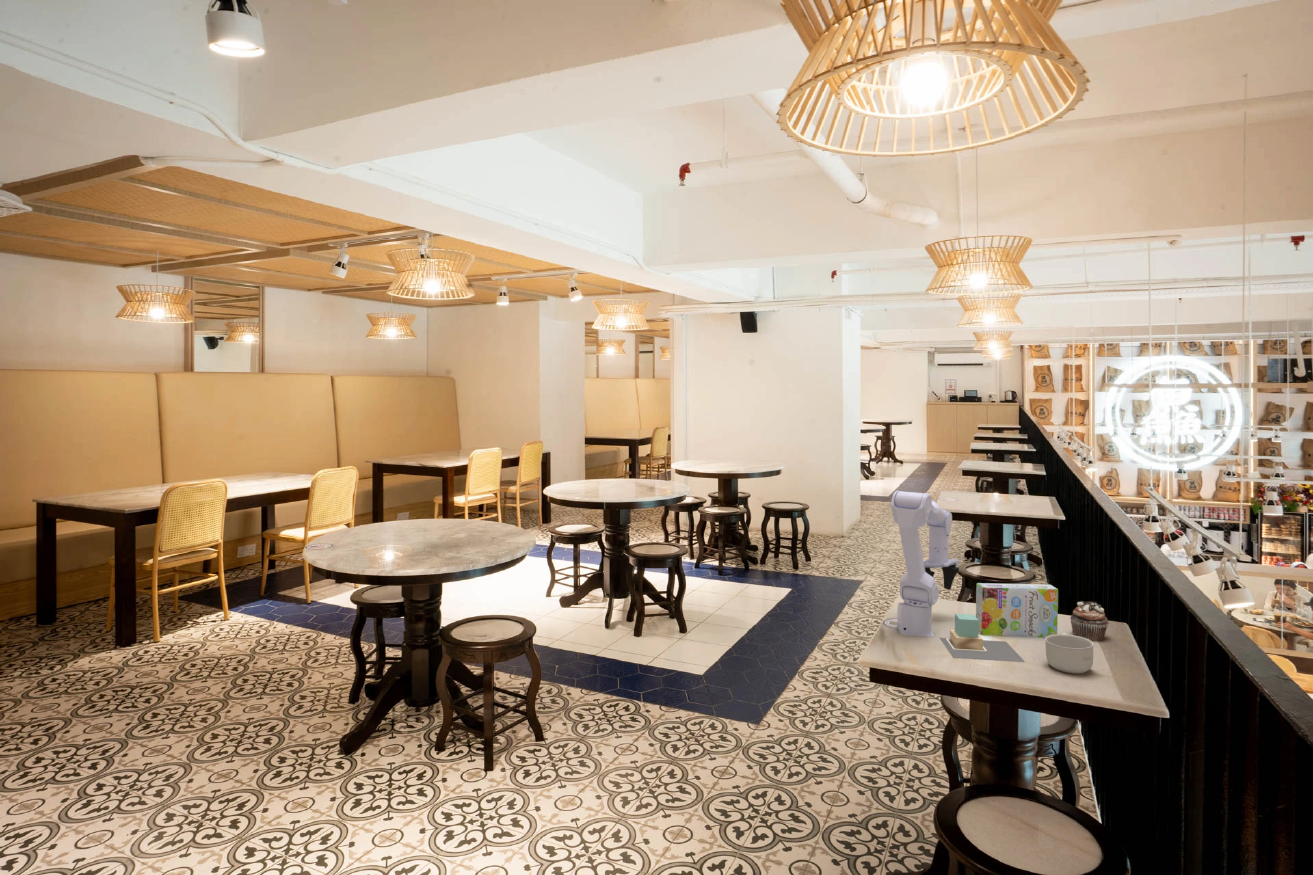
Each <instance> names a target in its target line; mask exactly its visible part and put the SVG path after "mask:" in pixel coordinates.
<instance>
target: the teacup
mask: <svg viewBox="0 0 1313 875" xmlns="http://www.w3.org/2000/svg"><path fill="white" fill-rule="evenodd" d="M1044 642H1045V657H1046V661H1047V663H1048V664H1049V665H1050V666H1051V667H1052V668H1054V669H1055V670H1057V671H1060V672H1062V673H1067V674H1075V675H1081V674H1085V673H1086V672H1087V671H1089V670H1091V668H1092V667H1093V665H1094V646H1095V644H1094V641H1091V640H1089V639H1086V638H1083V637H1079V636H1074V635H1073V634H1068V633H1066V632H1061V633H1059V634H1058V633H1057V634H1056V635H1050V636H1047V637H1044Z"/></svg>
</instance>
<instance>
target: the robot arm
mask: <svg viewBox="0 0 1313 875" xmlns="http://www.w3.org/2000/svg"><path fill="white" fill-rule="evenodd" d="M890 509H891V515H892V518H893V522H894V523H895V524H897V525H898V529H899V533H900V534H899V535H900V539H901V544H902V546H901V547H902V551H903V556H904V562H905V566H906V572H905V573H904V574H903V575H902V576H901V578H900V580H899V596H900V597H901V599H902V600H903V602H899V603H898V604H897V614H896V615H897V621H896V628H897V630H898V632H899V634H900V635H903V636H918V637H919V636H920V637H921V636H922V637H935V634H934V633H933V631H932V615H933V614H932V613H933V612H932V611H933V609H932V607H933V606H934V605H935V604H936V603H937V602H938V599H939V591H940V590H939V587H938V585H937V582H936V580H935V578H934V575H935V571H932V569H935V568H936V569H937V568H941V570H942V571H941V572H942V576H943V588H944V589H945V590H949V591H950V590H951V589H952V585H953V582H954V580H955V577H956V575H957V574H958V573H959V571H960V567H959V564H960V560H959V559H956V558H949V547H950V546H949V542H950V541H949V539H950V534H951V527H952V524H953V523H952V522H953V515H952V512H949V510H947V509H943V508H942V507H941V506H940V505H939V504H938V503H937V501H935V500H932V497H931V494H929V492H924V493H923V492H914V491H913V492H912V491H901V490H895V491H894V492H893V493H892V496H891V503H890ZM925 525H926V526H927V527H928V529H929V530H928V533H929V534H928V559H927V560H924V556H923V551H922V550H923V549H922V543H921V538H920V532H919V529H920V528H921V527H924V526H925Z"/></svg>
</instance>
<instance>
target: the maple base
mask: <svg viewBox="0 0 1313 875" xmlns="http://www.w3.org/2000/svg"><path fill="white" fill-rule="evenodd" d="M949 630H950V631H949V638H950V641H951V642H952V644H953V645H954V646H955V648H956V649H973V650H983V640H984V639H983V637H982V635H981V634H980V633H978V638H970V637H959V636H958V635H957V633H956V632H955V629H949Z"/></svg>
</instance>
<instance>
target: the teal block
mask: <svg viewBox="0 0 1313 875" xmlns="http://www.w3.org/2000/svg"><path fill="white" fill-rule="evenodd" d="M954 630H955V632H956V633H957V635H958V636H959V637H970V638H978V634H980V633H979V620H978V619H977V618H976V615H975V614H966V613H962V614H961V613H955V614H954Z"/></svg>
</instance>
